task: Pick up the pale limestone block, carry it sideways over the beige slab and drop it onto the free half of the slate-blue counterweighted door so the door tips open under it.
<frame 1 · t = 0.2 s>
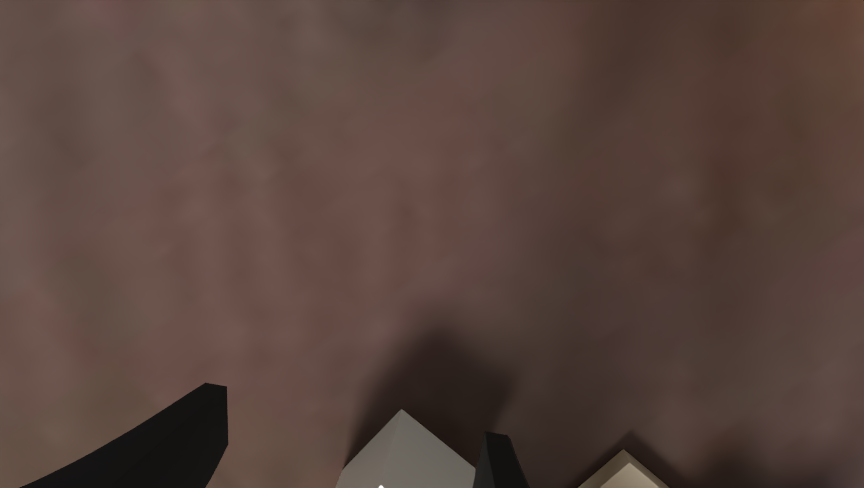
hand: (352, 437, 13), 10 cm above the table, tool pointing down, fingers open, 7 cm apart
limestone block: (408, 468, 25), on the table
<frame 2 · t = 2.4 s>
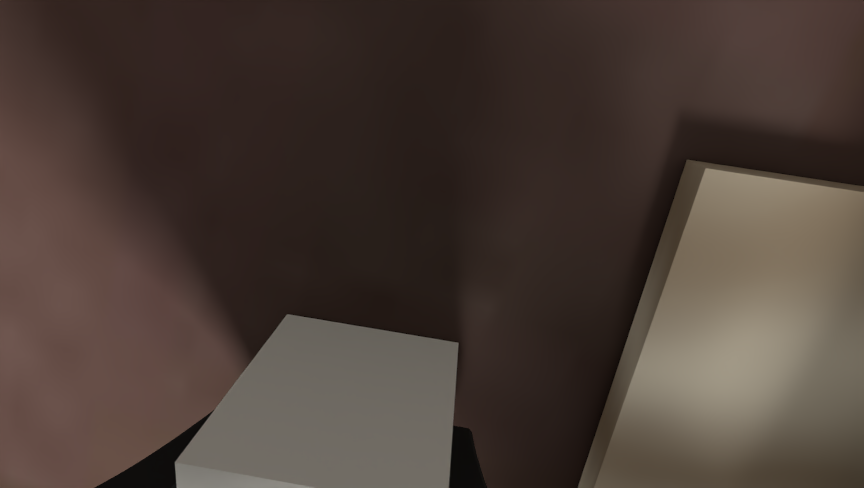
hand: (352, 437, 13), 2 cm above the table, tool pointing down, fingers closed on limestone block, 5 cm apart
limestone block: (365, 398, 15), on the table, touching gripper
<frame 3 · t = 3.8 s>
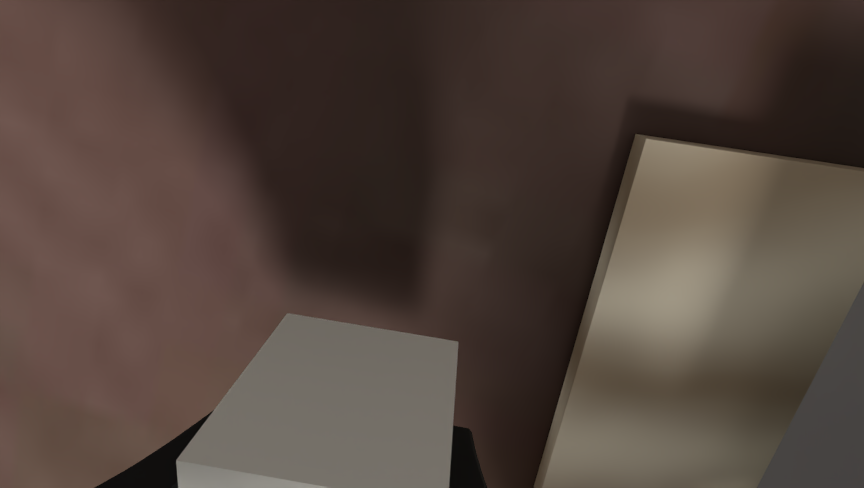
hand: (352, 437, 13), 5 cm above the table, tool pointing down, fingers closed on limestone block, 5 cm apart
limestone block: (365, 397, 15), point 4 cm above the table, touching gripper
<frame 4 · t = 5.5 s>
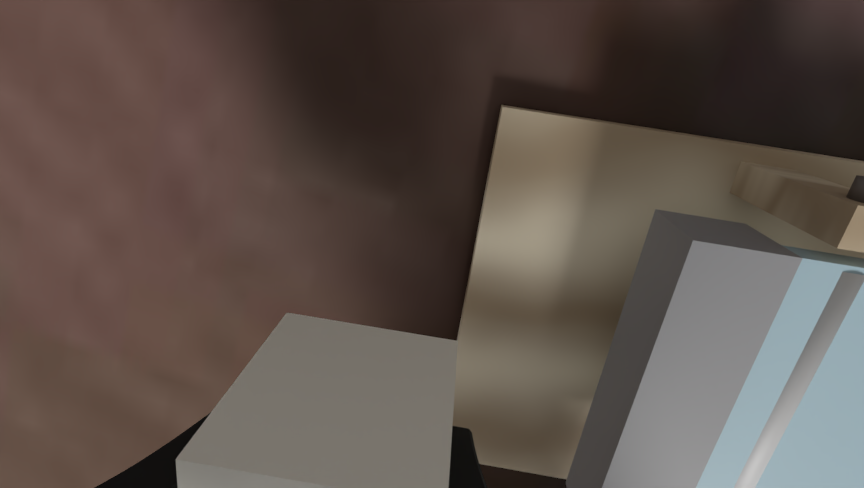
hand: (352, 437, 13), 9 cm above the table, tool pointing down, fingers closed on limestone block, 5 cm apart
limestone block: (364, 396, 15), point 8 cm above the table, touching gripper
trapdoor: (780, 417, 17), point 5 cm above the table, hinge at 0.0°
beige slab: (708, 338, 21), on the table
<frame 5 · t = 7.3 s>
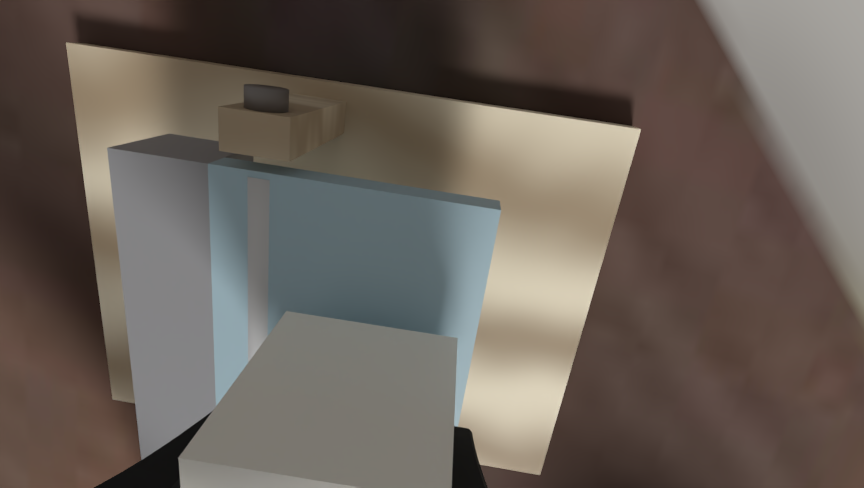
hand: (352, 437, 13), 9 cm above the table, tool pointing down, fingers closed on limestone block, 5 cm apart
limestone block: (364, 394, 15), point 8 cm above the table, touching gripper
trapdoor: (308, 336, 17), point 5 cm above the table, hinge at 0.0°
beige slab: (339, 277, 22), on the table
when the fingers open (9 cm above the table, at t = 8.6 s): limestone block drops 2 cm, resting on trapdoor.
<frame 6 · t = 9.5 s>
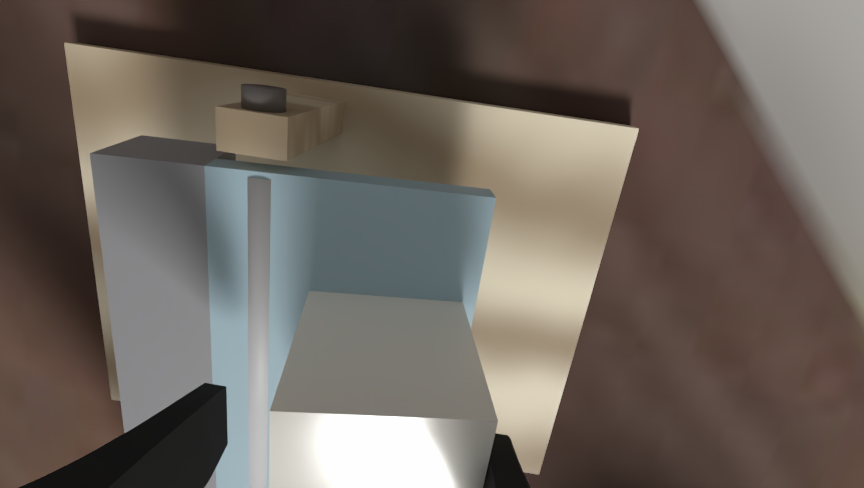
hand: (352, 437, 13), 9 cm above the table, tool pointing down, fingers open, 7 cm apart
limestone block: (380, 360, 16), point 6 cm above the table, tilted 10°, touching gripper, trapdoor
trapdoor: (303, 332, 17), point 5 cm above the table, hinge at -10.1°, touching limestone block
beige slab: (338, 276, 22), on the table
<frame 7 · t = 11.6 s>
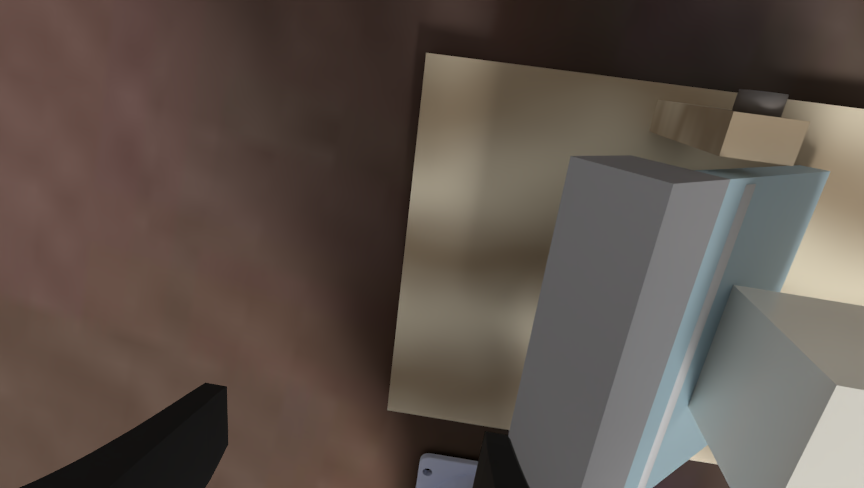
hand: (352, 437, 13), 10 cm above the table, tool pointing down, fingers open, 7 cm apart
limestone block: (785, 362, 16), point 5 cm above the table, touching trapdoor
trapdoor: (665, 331, 18), point 4 cm above the table, hinge at -41.4°, touching beige slab, limestone block
beige slab: (645, 283, 22), on the table
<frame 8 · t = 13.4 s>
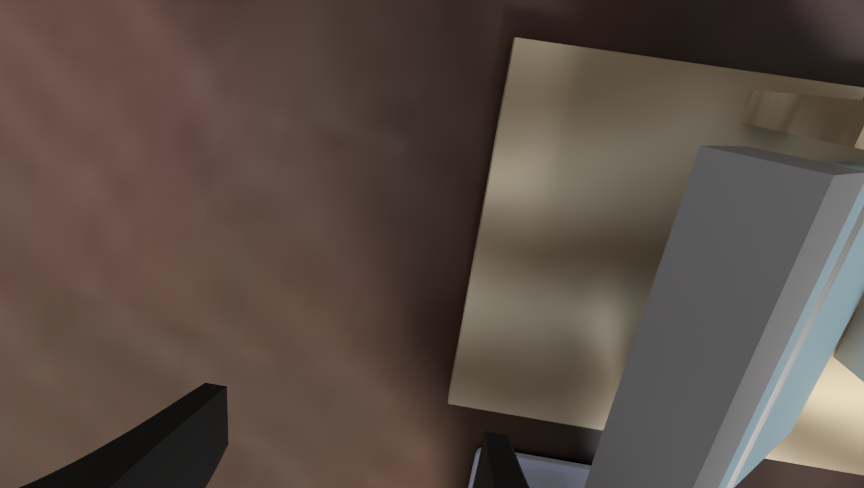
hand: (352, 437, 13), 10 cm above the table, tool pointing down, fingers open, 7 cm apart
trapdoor: (758, 327, 17), point 4 cm above the table, hinge at -41.4°, touching beige slab
beige slab: (719, 278, 21), on the table
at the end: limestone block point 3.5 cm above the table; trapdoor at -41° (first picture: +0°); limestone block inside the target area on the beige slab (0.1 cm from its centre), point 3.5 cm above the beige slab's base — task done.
